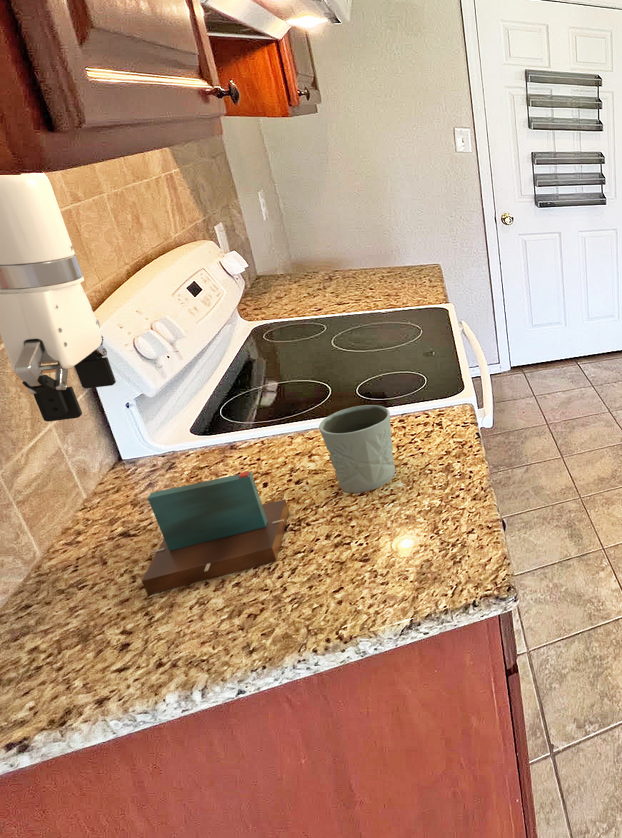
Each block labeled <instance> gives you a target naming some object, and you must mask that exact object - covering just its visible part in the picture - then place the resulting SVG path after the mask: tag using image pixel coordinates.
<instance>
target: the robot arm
mask: <svg viewBox="0 0 622 838" xmlns="http://www.w3.org/2000/svg"><path fill="white" fill-rule="evenodd" d="M83 282H85V277H84V274H83V272H82V269H81V266H80V263H79V260H78V257H77V254H76V252H75V249H74V247H73V244H72V240H71V237H70V236H69V232H68V229H67V225H66V224H65V221H64V218H63V215H62V212H61V210H60V206H59V203H58V201H57V198H56V195H55V191H54V189H53V186H52V184H51V182H50V179H49V178H48V176H47V175H46V174H45V172H43V173H30V174H21V175H0V336H1V340H2V343H3V346H4V349H5V352H6V355H7V357H8V360H9V363H10V365H11V368H12V370H13V371H14V373H15V374H16V376H17V377H19V379H21V381H22V385H23V386H24V387H25V388H27V389H28V392H29V394H30V395H33V397H34V400H35V402H36V405H37V408H38V410H39V412H40V415H41V417H42V420H43V421H44V422H48V423H49V422H50V423H51V422H57V421H64V420H70V419H71V420H73V419H78V418H80V417H81V416H82V415H83V411H82V408H81V406H80V403H79V401H78V398H77V395H76V393H75V390H74V387H73V386H68V375H69V374H68V373H69V371H68V370H69V369H72V368H73V367H74V369H75V372H76V375H77V377H78V379H79V383H80V384H81V387H82V388H83V389H95V388H102V387H111V386H114V385H115V384H116V382H117V380H116V377H115V375H114V372H113V369H112V366H111V364H110V361H109V358H108V351H107V349H106V347H105V346H103V343H104V336H103V335H102V332H101V326H100V321H99V319H97V317H96V315H95V312H94V310H93V308H92V305H91V303H90V301H89V298H88V297H87V294H86V292H85V290H84V288H83V286H82V283H83ZM50 373H54V374H55V375H54V378H53V377H51V376H49V375H48V374H50Z"/></svg>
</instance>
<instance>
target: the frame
mask: <svg viewBox="0 0 622 838" xmlns="http://www.w3.org/2000/svg"><path fill="white" fill-rule="evenodd" d="M147 501H148V502H149V505H150V508H151V510H152V513H153V515H154V518H155V520H156V522H157V525H158V527H159V529H160V532H161V534H162V537H163V539H165V542H166V544H167V547H168V549H169V551H171V550H175V549H179V548H183V547H187V546H191V545H195V544H199V543H203V542H207V541H212V540H216V539H220V538H224V537H228V536H232V535H236V534H240V533H244V532H248V531H252V530H256V529H260V528H264V527H266V525H267V518H266V515H265V512H264V509H263V506H262V505H263V504H262V500H261V497H260V493H259V491H258V488H257V485H256V481H255V478H254V475H253V472H252V471H249V470H248V471H244V472H240V473H239V474H234V475H229V476H224V477H219V478H215V479H210V480H206V481H201V482H196V483H191V484H187V485H182V486H177V487H172V488H167V489H163V490H158V491H154V492H150V494H149V495H148V497H147Z"/></svg>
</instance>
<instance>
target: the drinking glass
mask: <svg viewBox="0 0 622 838" xmlns="http://www.w3.org/2000/svg"><path fill="white" fill-rule="evenodd" d="M318 429H319V431H320V434H321V437H322V439H323V442H324V445H325V448H326V450H327V451H328V452H329V459H330V461H331V462H330V463H331V465H332V468H333V469H334V473H335V478H336V479H337V482H338V486H339V488H340V489H341V490H342V491H344V492H346V493H350V494H360V493H361V494H362V493H366V492H370V491H374V490H376V489H378V488H381V487H383V486H384V485H386V484H387V483H389V482H390V481H391V480H392V479H393V478H394V476H395V473H396V467H395V459H394V454H393V451H394V447H393V439H392V427H391V412H390V410H389V409H388V408H387V407H385V406H382V405H377V404H365V405H359V406H358V405H356V406H352V407H348V408H343V409H341V410H339V411H336V412H334V413H332V414H330V415H328V416H326V417H325V418H324V419H323V420H321V421H320V423H319V426H318Z"/></svg>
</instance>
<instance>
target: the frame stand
mask: <svg viewBox="0 0 622 838" xmlns="http://www.w3.org/2000/svg"><path fill="white" fill-rule="evenodd" d="M262 506H263V509H264V512H265V515H266V518H267V525H266V527H264V528H260V529H256V530H252V531H248V532H244V533H240V534H236V535H232V536H228V537H224V538H220V539H216V540H212V541H207V542H203V543H199V544H195V545H191V546H187V547H183V548H179V549H175V550H171V551H169V549H168V547H167V544H166V542H165V539H164V538H163V540H162V541H161V544H160V545H159V547H158V549H153V550H151V551H150V554H154V553H155V554H154V557H153V558H152V560H151V562H150V564H149V565H148V568H147V570H146V572H145V574H144V575H143V577H142V578H141V583H142V585H143V587H144V590H145V592H146V594H147V596H150V595H154V594H158V593H161V592H165V591H169V590H173V589H177V588H180V587H184V586H188V585H191V584H194V583H199V582H202V581H203V582H204V581H206V580H210V579H213V578H219V577H221V576H225V575H229V574H232V573H237V572H240V571H244V570H248V569H252V568H255V567H259V566H262V565H266V564H270V563H274V562H277V561H278V557H279V552H280V549H281V545H282V541H283V537H284V533H285V530H286V525H287V522H288V518H289V514H290V510H289V506H288V503H287V500H286V499H281V500H276V501H272V502H268V503H263V504H262Z"/></svg>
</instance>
